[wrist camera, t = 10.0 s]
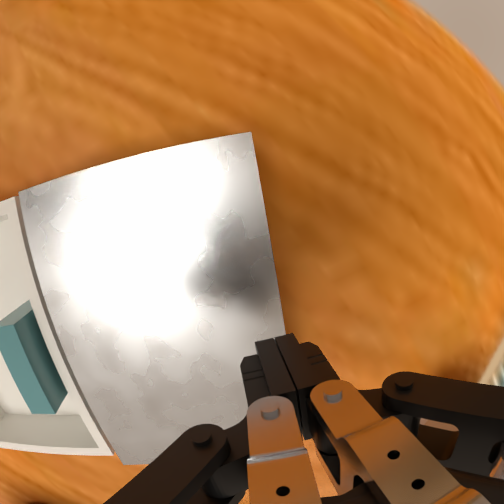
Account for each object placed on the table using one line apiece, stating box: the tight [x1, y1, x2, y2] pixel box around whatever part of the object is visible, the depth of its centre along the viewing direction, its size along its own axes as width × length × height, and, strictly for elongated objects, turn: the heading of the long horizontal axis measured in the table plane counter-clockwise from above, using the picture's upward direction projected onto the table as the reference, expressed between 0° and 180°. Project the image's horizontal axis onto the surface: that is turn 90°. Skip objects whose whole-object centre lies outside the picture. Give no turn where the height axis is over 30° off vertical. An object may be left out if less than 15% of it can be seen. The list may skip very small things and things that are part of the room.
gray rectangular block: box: [18, 132, 286, 465], centre depth 18 cm, size 18×12×6 cm, turn 10°
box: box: [0, 196, 115, 455], centre depth 18 cm, size 18×14×5 cm
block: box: [0, 300, 68, 414], centre depth 17 cm, size 6×6×2 cm
